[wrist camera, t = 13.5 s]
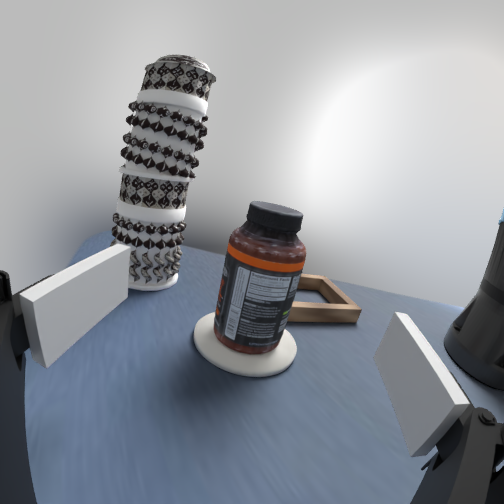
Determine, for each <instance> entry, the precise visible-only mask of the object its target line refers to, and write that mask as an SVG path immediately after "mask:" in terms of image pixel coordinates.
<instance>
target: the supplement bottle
mask: <svg viewBox="0 0 504 504" xmlns="http://www.w3.org/2000/svg"><path fill="white" fill-rule="evenodd" d="M302 219H303V214H302V213H301V212H299V211H297V210H294V209H291V208H288V207H285V206H281V205H277V204H271V203H266V202H260V201H253V202H251V203H250V206H249V210H248V214H247V221H246V222H245V223H244V224H243V225H242V226H241V227H239V228H237V229H236V230H234V231H233V233H232V234H231V236H230V239H229V244H228V249H227V254H226V258H225V263H224V268H223V274H222V280H221V285H220V291H219V295H218V301H217V307H216V311H215V317H214V333H215V335H216V337H217V339H218V340H219V341H220V342H221V343H222V344H224V345H225V346H227V347H228V348H230V349H232V350H234V351H237V352H239V353H245V354H250V355H251V354H254V355H255V354H264V353H268V352H270V351H272V350H274V349H275V348H276V347H277V346H278V344H279V343H280V340H281V338H282V335H283V332H284V329H285V326H286V323H287V320H288V316H289V313H290V310H291V307H292V304H293V300H294V297H295V294H296V290H297V287H298V283H299V280H300V277H301V273H302V270H303V266H304V262H305V257H306V248H305V246H304V245H303V243H302V242H301V241H300V240H299V239H298V237H297V235H296V233H297V232H298V231H300V229H301V223H302Z"/></svg>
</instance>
